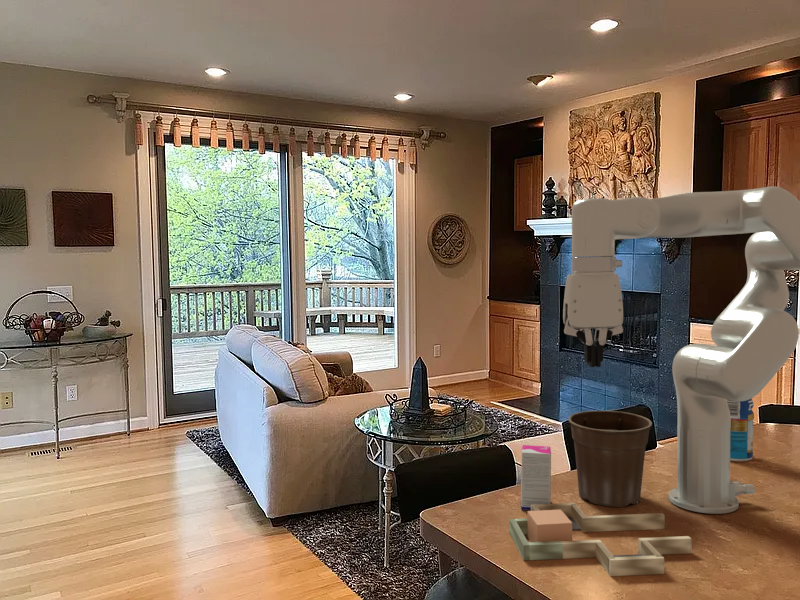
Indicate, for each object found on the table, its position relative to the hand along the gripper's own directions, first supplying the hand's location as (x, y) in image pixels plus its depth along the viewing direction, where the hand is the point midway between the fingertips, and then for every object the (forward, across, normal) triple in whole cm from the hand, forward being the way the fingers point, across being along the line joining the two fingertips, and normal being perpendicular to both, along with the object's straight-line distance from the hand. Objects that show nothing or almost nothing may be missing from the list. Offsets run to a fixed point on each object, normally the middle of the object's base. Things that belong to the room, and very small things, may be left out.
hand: (593, 365), depth 123 cm
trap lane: (+29, +2, +10) cm, 31 cm away
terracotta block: (+29, +11, +10) cm, 33 cm away
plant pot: (+29, -7, -11) cm, 32 cm away
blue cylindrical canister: (+29, -46, -34) cm, 64 cm away
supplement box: (+29, +9, -8) cm, 32 cm away
